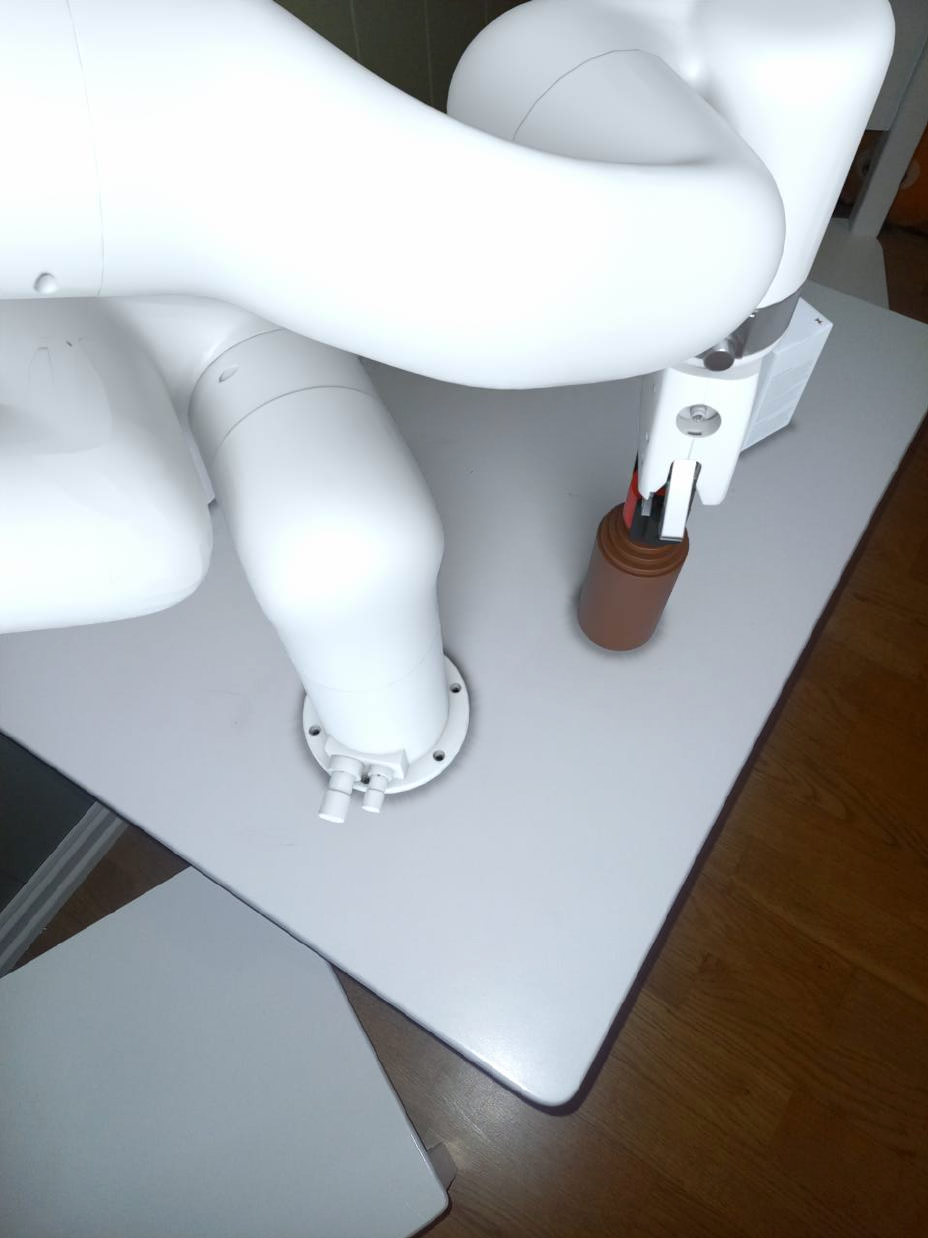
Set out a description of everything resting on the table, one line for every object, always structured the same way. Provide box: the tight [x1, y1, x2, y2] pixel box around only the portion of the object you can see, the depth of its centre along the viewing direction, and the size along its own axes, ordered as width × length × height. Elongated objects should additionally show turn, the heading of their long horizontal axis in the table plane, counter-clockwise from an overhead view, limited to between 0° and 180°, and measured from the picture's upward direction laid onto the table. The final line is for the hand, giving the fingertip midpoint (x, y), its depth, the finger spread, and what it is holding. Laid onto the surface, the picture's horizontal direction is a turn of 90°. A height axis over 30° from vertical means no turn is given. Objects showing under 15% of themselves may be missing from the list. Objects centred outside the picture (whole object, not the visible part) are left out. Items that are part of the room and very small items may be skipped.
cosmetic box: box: [740, 296, 834, 453], centre depth 72 cm, size 6×4×12 cm
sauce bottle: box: [577, 501, 690, 652], centre depth 61 cm, size 6×6×16 cm
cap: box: [623, 470, 666, 528], centre depth 55 cm, size 4×4×3 cm
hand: (655, 508), depth 56 cm, fingers closed on cap, 3 cm apart
